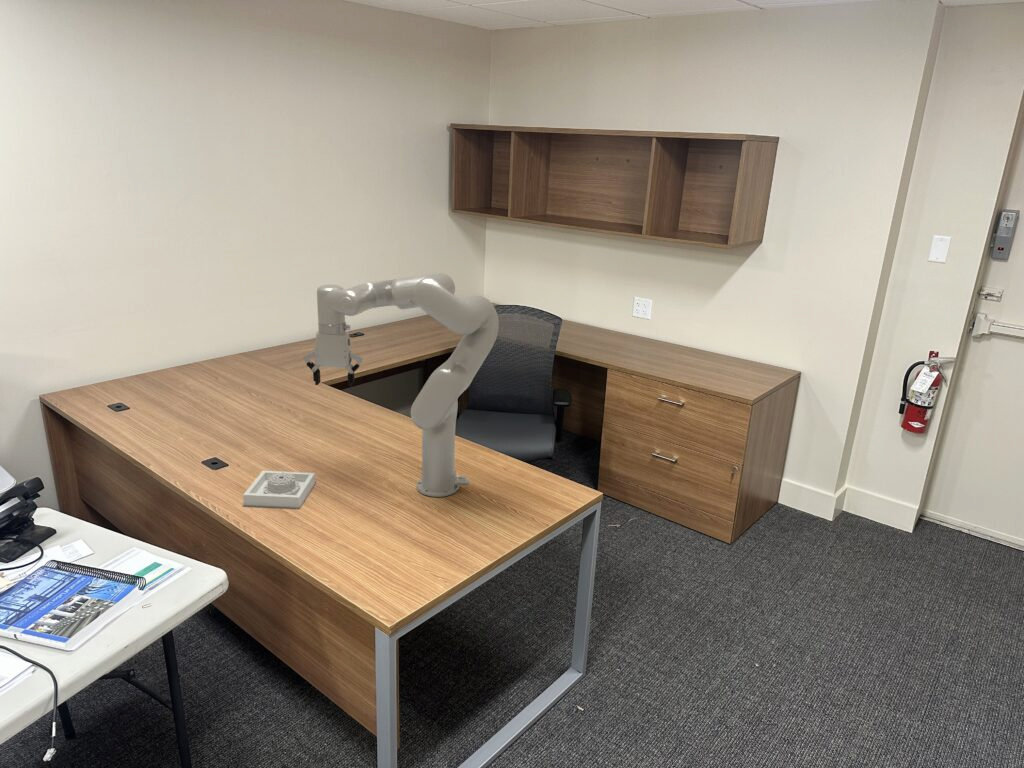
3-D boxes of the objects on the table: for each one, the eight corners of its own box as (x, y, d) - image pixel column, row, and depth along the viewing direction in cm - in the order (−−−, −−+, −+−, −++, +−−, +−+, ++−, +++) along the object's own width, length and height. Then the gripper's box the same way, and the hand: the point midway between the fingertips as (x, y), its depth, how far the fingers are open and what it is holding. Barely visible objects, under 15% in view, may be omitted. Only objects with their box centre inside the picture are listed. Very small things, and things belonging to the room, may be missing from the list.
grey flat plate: (316, 482, 213) (316, 481, 213) (299, 510, 197) (299, 509, 196) (264, 480, 213) (264, 479, 213) (242, 507, 197) (242, 506, 197)
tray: (315, 482, 212) (314, 473, 211) (299, 507, 197) (299, 497, 196) (263, 480, 212) (262, 470, 211) (244, 505, 197) (243, 494, 196)
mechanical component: (307, 490, 205) (285, 480, 211) (306, 476, 204) (284, 466, 209) (278, 503, 198) (256, 492, 203) (277, 488, 196) (255, 478, 202)
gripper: (364, 326, 210) (366, 381, 215) (305, 323, 210) (308, 379, 215) (358, 332, 203) (360, 389, 208) (298, 330, 203) (301, 387, 208)
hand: (334, 384), depth 212 cm, fingers open, 9 cm apart
